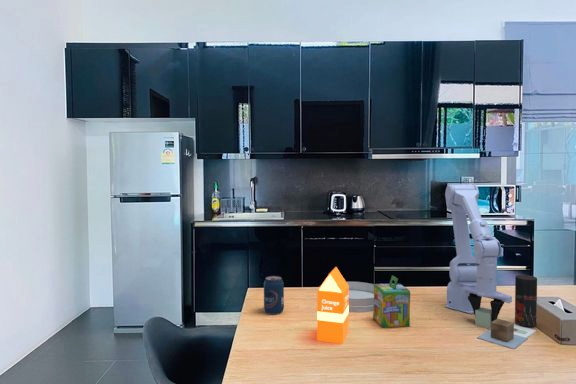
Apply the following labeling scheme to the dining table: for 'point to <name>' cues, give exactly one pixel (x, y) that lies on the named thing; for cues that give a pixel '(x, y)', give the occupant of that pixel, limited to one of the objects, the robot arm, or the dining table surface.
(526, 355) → the dining table surface
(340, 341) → the orange juice
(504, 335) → the block walnut
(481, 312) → the block sage
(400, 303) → the chalk box
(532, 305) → the deodorant
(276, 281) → the soda can
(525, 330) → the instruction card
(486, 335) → the baseplate
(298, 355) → the dining table surface
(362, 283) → the dish
